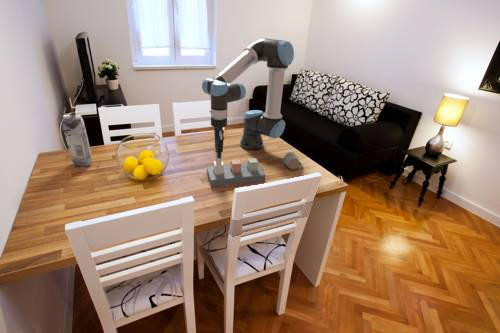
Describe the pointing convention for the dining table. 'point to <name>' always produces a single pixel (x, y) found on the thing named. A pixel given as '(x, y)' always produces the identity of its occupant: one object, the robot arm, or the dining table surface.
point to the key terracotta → (235, 166)
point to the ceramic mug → (292, 161)
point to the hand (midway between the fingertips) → (218, 162)
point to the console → (235, 176)
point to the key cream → (218, 168)
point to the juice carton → (77, 140)
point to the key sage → (252, 165)
